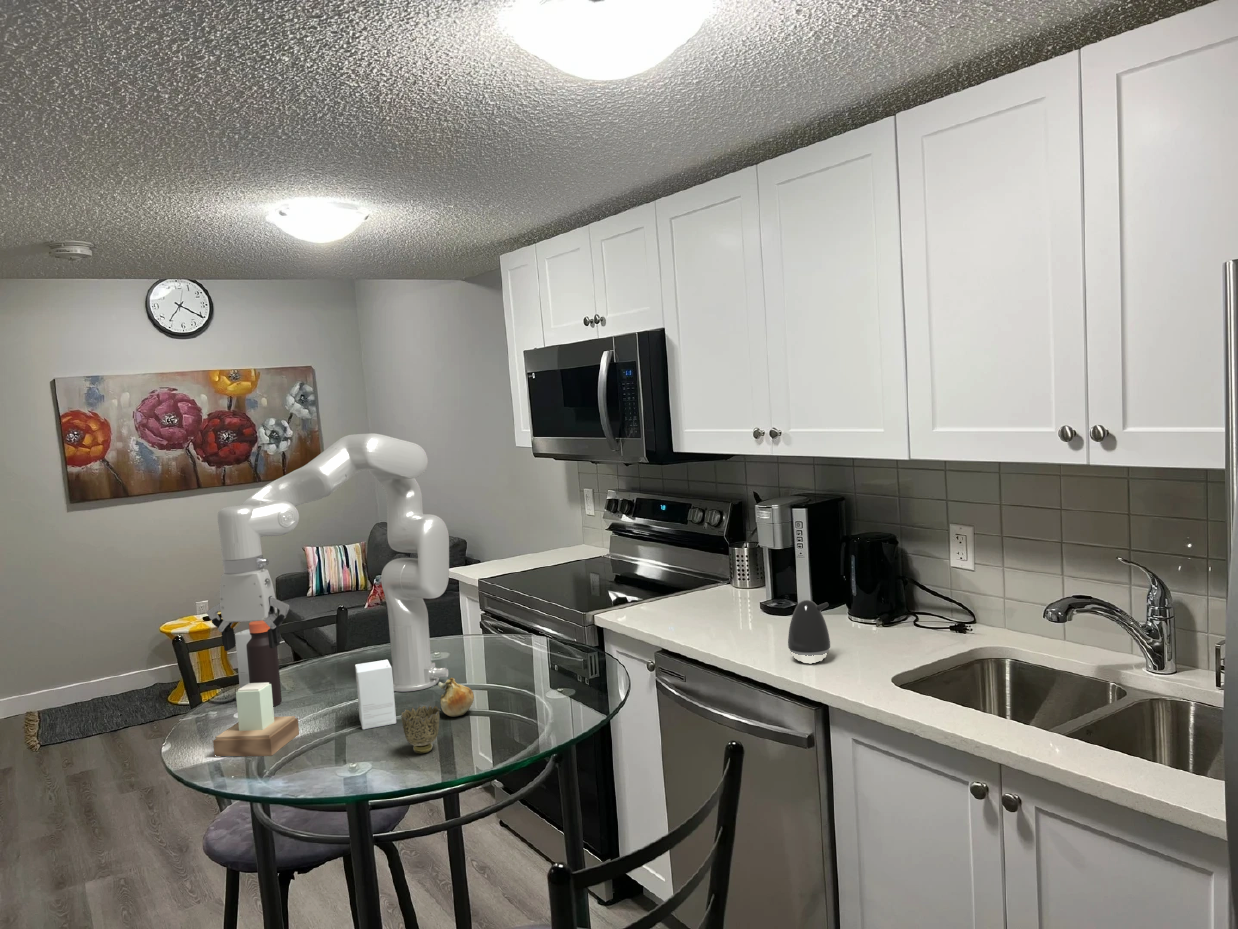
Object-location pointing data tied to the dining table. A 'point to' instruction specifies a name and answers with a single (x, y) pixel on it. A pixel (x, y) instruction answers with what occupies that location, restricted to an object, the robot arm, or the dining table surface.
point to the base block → (257, 739)
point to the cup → (421, 727)
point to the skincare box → (242, 656)
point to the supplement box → (375, 694)
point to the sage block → (255, 706)
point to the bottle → (263, 659)
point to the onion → (455, 698)
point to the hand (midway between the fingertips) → (252, 647)
